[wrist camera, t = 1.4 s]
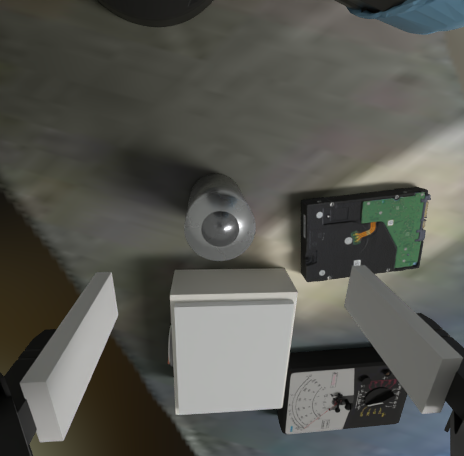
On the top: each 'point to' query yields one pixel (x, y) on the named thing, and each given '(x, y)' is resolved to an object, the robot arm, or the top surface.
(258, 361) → the scale
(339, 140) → the top surface
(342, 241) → the disk drive
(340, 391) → the multimeter
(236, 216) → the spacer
